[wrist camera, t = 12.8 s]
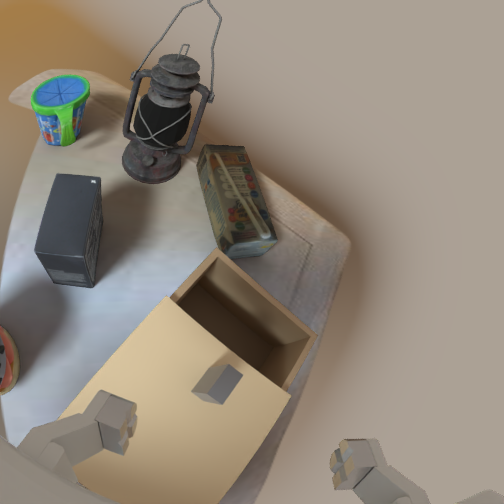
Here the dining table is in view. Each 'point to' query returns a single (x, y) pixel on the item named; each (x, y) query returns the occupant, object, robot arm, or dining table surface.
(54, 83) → the snack cup
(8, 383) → the cake
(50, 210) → the small box
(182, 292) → the cardboard box
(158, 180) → the lantern
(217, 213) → the beverage carton
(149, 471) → the lid flap
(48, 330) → the dining table surface
